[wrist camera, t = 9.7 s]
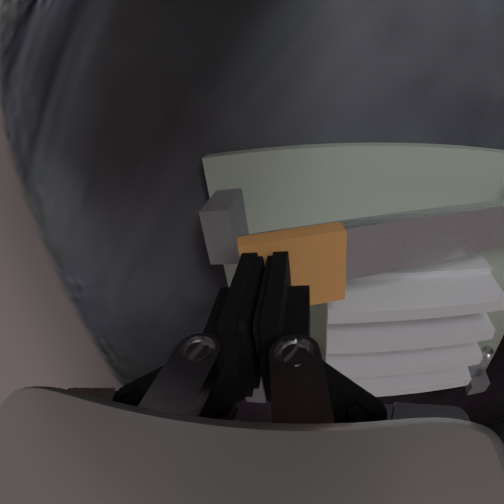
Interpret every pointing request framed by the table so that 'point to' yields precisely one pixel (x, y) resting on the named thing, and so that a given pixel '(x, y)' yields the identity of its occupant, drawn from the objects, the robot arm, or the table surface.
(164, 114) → the table surface
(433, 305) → the cooler board
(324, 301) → the strap
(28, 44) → the table surface
